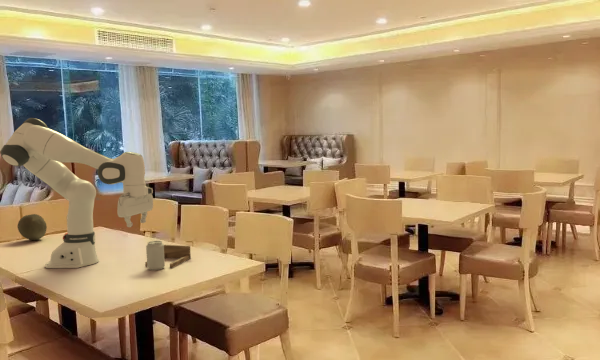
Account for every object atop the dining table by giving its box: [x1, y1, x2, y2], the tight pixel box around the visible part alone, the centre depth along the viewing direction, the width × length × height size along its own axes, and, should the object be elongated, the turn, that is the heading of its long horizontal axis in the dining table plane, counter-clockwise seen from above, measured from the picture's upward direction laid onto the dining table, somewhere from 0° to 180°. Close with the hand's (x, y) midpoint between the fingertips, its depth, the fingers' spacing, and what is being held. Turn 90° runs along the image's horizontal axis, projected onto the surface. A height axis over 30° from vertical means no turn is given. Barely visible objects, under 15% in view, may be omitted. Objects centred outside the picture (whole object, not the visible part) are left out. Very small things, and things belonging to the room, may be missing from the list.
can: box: [145, 240, 166, 271], centre depth 223 cm, size 8×8×12 cm
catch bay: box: [144, 244, 192, 269], centre depth 234 cm, size 17×13×6 cm
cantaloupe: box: [17, 213, 48, 241], centre depth 288 cm, size 14×14×15 cm
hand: (136, 224), depth 209 cm, fingers open, 8 cm apart
